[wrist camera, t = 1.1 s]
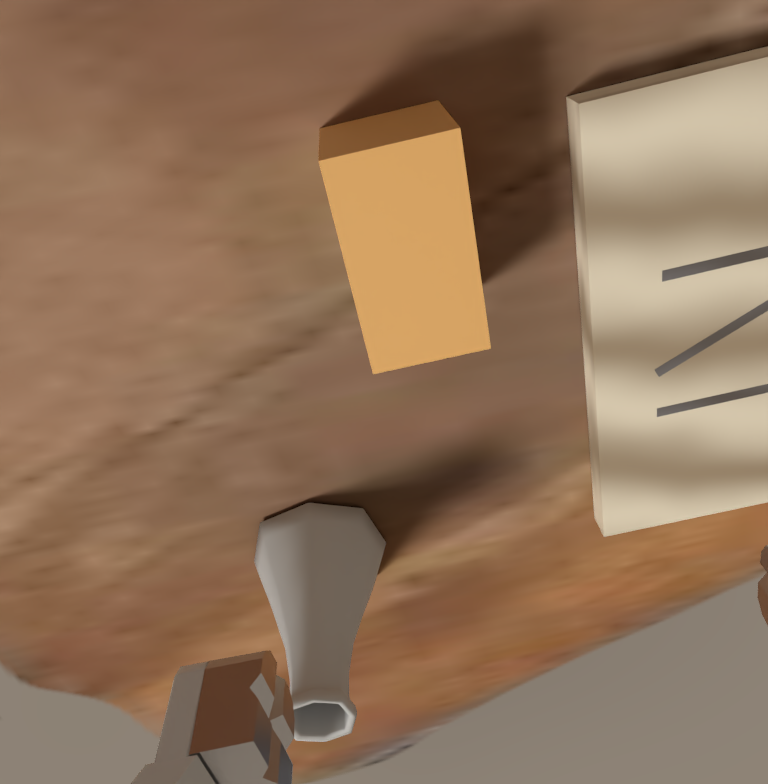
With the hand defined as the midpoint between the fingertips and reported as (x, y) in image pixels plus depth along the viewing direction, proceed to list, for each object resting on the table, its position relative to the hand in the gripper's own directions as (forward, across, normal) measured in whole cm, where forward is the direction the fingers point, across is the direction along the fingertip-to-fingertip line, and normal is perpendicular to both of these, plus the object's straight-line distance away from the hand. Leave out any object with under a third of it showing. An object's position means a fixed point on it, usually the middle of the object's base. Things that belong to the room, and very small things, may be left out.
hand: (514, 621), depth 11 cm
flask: (+20, +8, +16) cm, 27 cm away
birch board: (+20, -13, +7) cm, 24 cm away
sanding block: (+20, 0, -1) cm, 20 cm away
